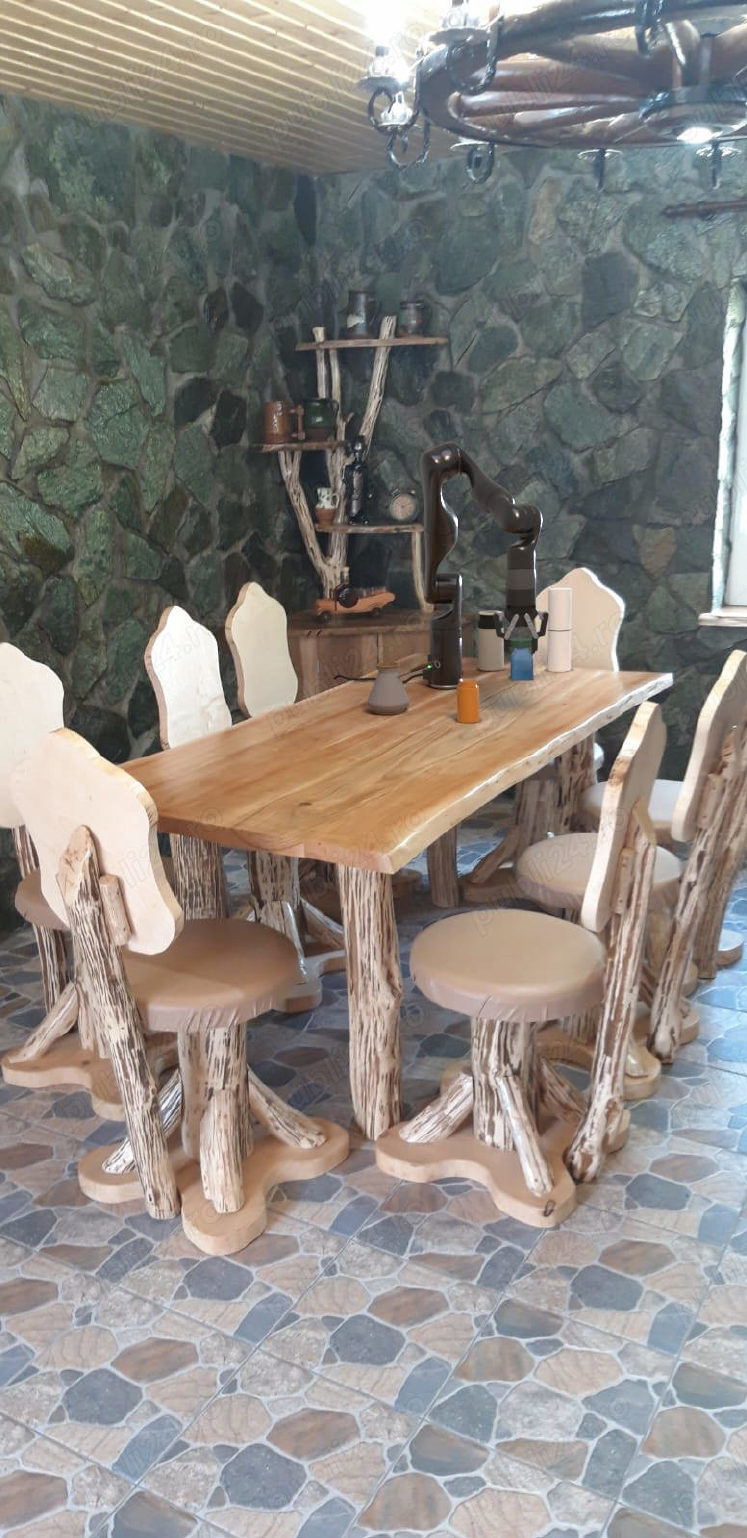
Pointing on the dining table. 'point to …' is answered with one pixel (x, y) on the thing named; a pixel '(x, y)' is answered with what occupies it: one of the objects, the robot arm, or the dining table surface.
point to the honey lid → (520, 642)
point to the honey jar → (467, 701)
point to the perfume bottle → (521, 664)
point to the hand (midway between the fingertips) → (520, 653)
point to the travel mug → (490, 643)
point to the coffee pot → (391, 689)
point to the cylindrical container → (559, 629)
